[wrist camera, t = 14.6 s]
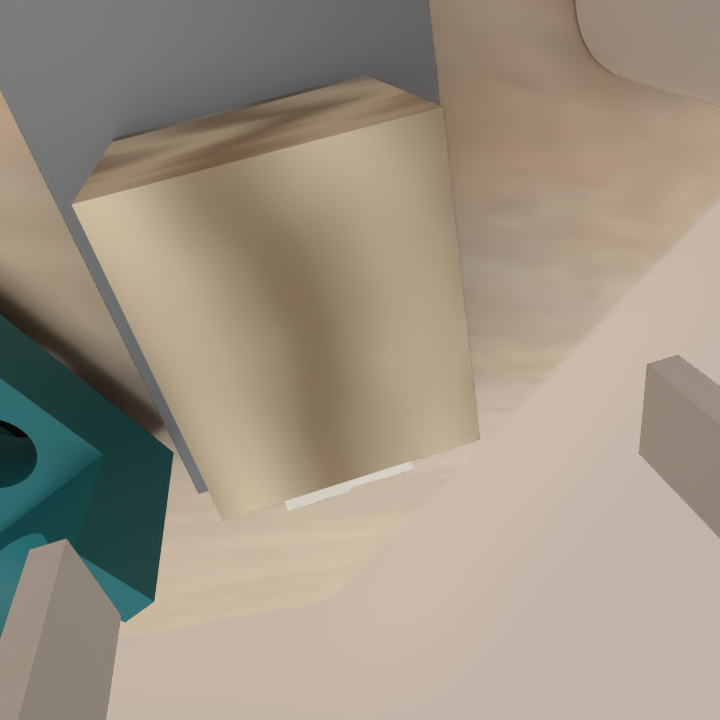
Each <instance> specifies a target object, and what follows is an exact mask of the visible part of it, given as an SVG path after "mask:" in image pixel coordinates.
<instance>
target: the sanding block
mask: <svg viewBox="0 0 720 720" xmlns="http://www.w3.org/2000/svg"><path fill="white" fill-rule="evenodd" d="M72 207H73V209H74V211H75V213H76V215H77V217H78V219H79V221H80V223H81V225H82V227H83V230H84V232H85V234H86V236H87V238H88V240H89V242H90V244H91V246H92V248H93V250H94V252H95V255H96V257H97V259H98V261H99V263H100V265H101V267H102V269H103V271H104V273H105V275H106V278H107V280H108V282H109V284H110V286H111V288H112V290H113V292H114V294H115V296H116V298H117V300H118V303H119V305H120V307H121V309H122V311H123V313H124V315H125V317H126V319H127V321H128V323H129V325H130V328H131V330H132V332H133V334H134V336H135V338H136V340H137V342H138V344H139V346H140V348H141V350H142V353H143V355H144V357H145V359H146V361H147V363H148V365H149V367H150V369H151V371H152V373H153V376H154V378H155V380H156V382H157V384H158V386H159V388H160V390H161V392H162V394H163V396H164V398H165V401H166V403H167V405H168V407H169V409H170V411H171V413H172V415H173V417H174V419H175V421H176V423H177V426H178V428H179V430H180V432H181V434H182V436H183V438H184V440H185V442H186V444H187V446H188V448H189V451H190V453H191V455H192V457H193V459H194V461H195V463H196V465H197V467H198V469H199V471H200V474H201V476H202V478H203V480H204V482H205V484H206V486H207V488H208V490H209V492H210V494H211V496H212V499H213V501H214V503H215V505H216V507H217V509H218V511H219V513H220V515H221V517H222V519H223V521H224V520H227V519H230V518H234V517H237V516H240V515H243V514H246V513H249V512H252V511H256V510H259V509H262V508H265V507H268V506H271V505H274V504H278V503H281V502H284V501H287V500H290V499H293V498H296V497H300V496H303V495H306V494H309V493H312V492H315V491H318V490H321V489H325V488H328V487H331V486H334V485H337V484H340V483H343V482H347V481H350V480H353V479H356V478H359V477H362V476H365V475H369V474H372V473H375V472H378V471H381V470H384V469H387V468H391V467H394V466H397V465H400V464H403V463H406V462H409V461H413V460H416V459H419V458H422V457H425V456H428V455H431V454H435V453H438V452H441V451H444V450H447V449H450V448H453V447H457V446H460V445H463V444H466V443H469V442H472V441H475V440H479V439H480V434H479V425H478V416H477V407H476V398H475V389H474V380H473V371H472V362H471V353H470V344H469V335H468V326H467V317H466V308H465V299H464V290H463V281H462V272H461V263H460V254H459V245H458V236H457V227H456V218H455V209H454V200H453V191H452V182H451V173H450V164H449V155H448V146H447V137H446V128H445V119H444V110H443V107H442V106H440V105H437V104H435V103H432V102H430V101H428V100H425V99H423V98H420V97H418V96H415V95H413V94H411V93H408V92H406V91H403V90H401V89H398V88H396V87H394V86H391V85H389V84H386V83H384V82H381V81H379V80H377V79H374V78H372V77H369V76H367V75H360V76H357V77H353V78H349V79H345V80H341V81H337V82H333V83H329V84H325V85H321V86H317V87H313V88H309V89H305V90H301V91H298V92H294V93H290V94H286V95H282V96H278V97H274V98H270V99H266V100H262V101H258V102H254V103H250V104H246V105H242V106H239V107H235V108H231V109H227V110H223V111H219V112H215V113H211V114H207V115H203V116H199V117H195V118H191V119H187V120H183V121H180V122H176V123H172V124H168V125H164V126H160V127H156V128H152V129H148V130H144V131H140V132H136V133H132V134H128V135H124V136H120V137H117V138H114V139H113V141H112V142H111V144H110V145H109V147H108V149H107V150H106V152H105V153H104V155H103V156H102V158H101V159H100V161H99V163H98V164H97V166H96V167H95V169H94V170H93V172H92V173H91V175H90V177H89V178H88V180H87V181H86V183H85V184H84V186H83V187H82V189H81V191H80V192H79V194H78V195H77V197H76V198H75V200H74V201H73V203H72Z"/></svg>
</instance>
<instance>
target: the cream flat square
mask: <svg viewBox="0 0 720 720" xmlns="http://www.w3.org/2000/svg"><path fill="white" fill-rule="evenodd" d="M412 469H413V468H412V462H411V461H409V462H406V463H403V464H400V465H397V466H394V467H391V468H387V469H384V470H381V471H378V472H375V473H372V474H369V475H365V476H362V477H359V478H356V479H353V480H350V481H348V482H349V485H350V487H353V486H357V485H360V484H364V483H367V482H371V481H374V480H378V479H381V478H385V477H388V476H392V475H395V474H399V473H402V472H405V471H409V470H412Z"/></svg>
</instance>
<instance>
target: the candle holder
mask: <svg viewBox="0 0 720 720" xmlns="http://www.w3.org/2000/svg"><path fill="white" fill-rule="evenodd" d="M575 4H576V14H577V20H578V25H579V29H580V32H581V35H582V37H583V40H584V42H585V44H586V46H587V48H588V50H589V51H590V53H591V54H592V56H593V57H594V58H595V59H596V60H597V62H598V63H599V64H600V65H602V66H603V67H604V68H605V69H607V70H608V71H610V72H611V73H613V74H615V75H617V76H619V77H621V78H624V79H627V80H629V81H632V82H636V83H639V84H642V85H645V86H649V87H652V88H656V89H659V90H662V91H666V92H669V93H673V94H676V95H680V96H683V97H687V98H691V99H694V100H698V101H701V102H705V103H708V104H712V105H715V106H719V107H720V0H575Z"/></svg>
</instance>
